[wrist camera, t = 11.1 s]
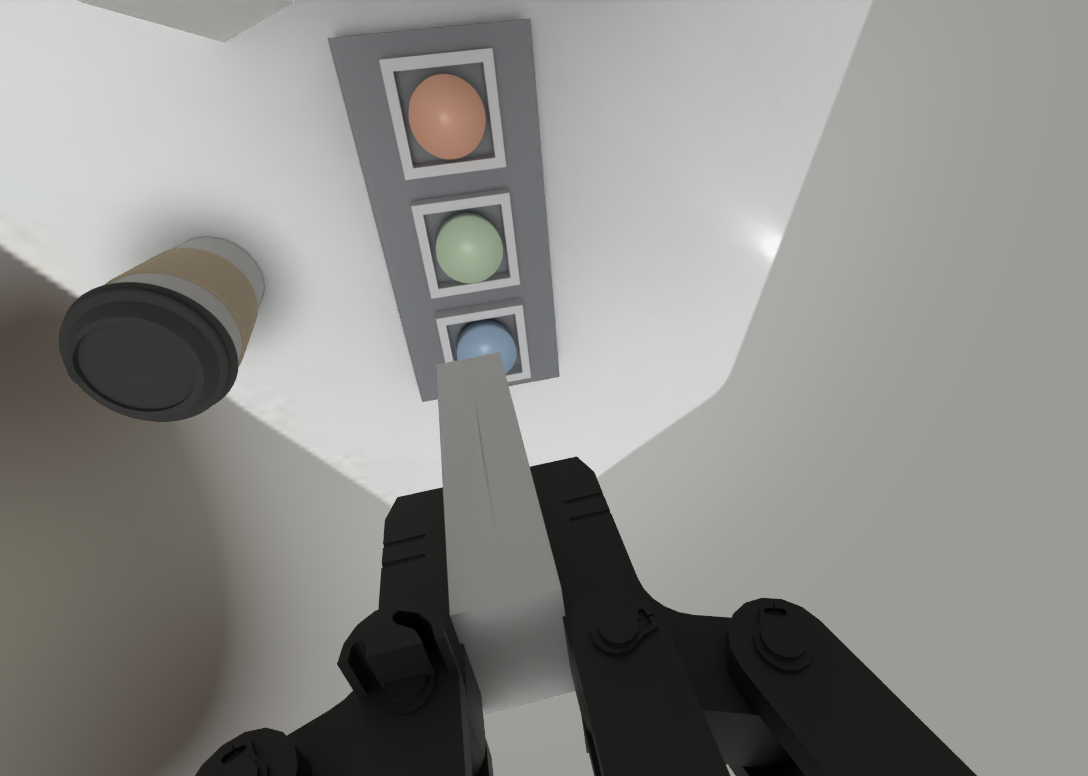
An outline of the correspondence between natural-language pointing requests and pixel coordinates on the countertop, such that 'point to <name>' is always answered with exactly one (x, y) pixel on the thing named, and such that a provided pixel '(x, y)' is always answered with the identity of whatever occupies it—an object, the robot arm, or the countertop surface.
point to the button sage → (468, 248)
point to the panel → (455, 188)
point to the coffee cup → (165, 331)
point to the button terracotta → (446, 116)
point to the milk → (198, 14)
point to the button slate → (487, 342)
